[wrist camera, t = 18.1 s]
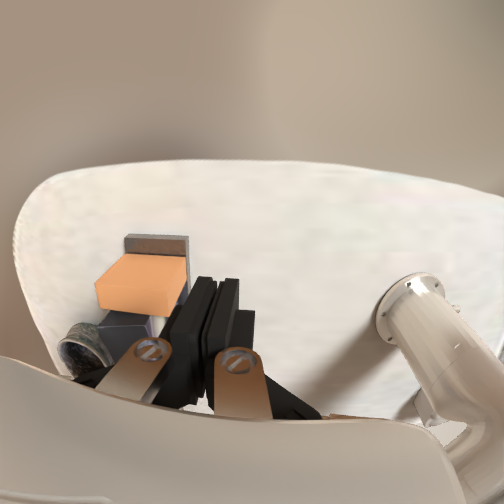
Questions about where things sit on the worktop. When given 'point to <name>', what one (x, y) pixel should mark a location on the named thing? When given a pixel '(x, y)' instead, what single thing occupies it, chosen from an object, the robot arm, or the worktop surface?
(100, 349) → the mug
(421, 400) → the beige piece
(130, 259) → the vise slide jaw
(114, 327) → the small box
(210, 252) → the worktop surface
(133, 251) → the grey bent bar
